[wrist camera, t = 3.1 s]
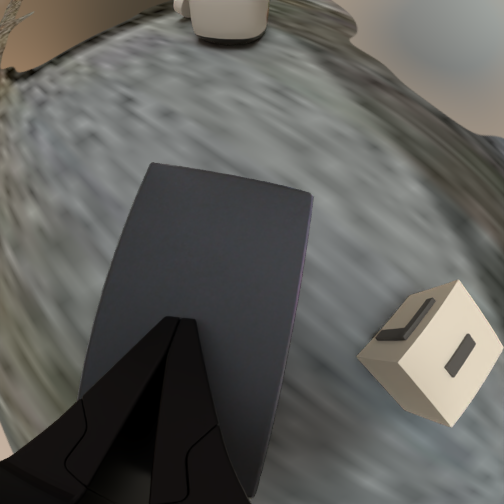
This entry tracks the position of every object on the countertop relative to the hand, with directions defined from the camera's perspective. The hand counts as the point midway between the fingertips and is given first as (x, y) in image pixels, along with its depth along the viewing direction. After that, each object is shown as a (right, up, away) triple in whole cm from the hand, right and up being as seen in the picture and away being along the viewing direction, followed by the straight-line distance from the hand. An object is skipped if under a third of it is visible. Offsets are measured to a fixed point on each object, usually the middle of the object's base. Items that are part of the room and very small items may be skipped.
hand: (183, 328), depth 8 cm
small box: (0, -4, +10) cm, 11 cm away
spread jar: (-2, +28, +20) cm, 35 cm away
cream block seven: (+13, -5, +10) cm, 18 cm away
